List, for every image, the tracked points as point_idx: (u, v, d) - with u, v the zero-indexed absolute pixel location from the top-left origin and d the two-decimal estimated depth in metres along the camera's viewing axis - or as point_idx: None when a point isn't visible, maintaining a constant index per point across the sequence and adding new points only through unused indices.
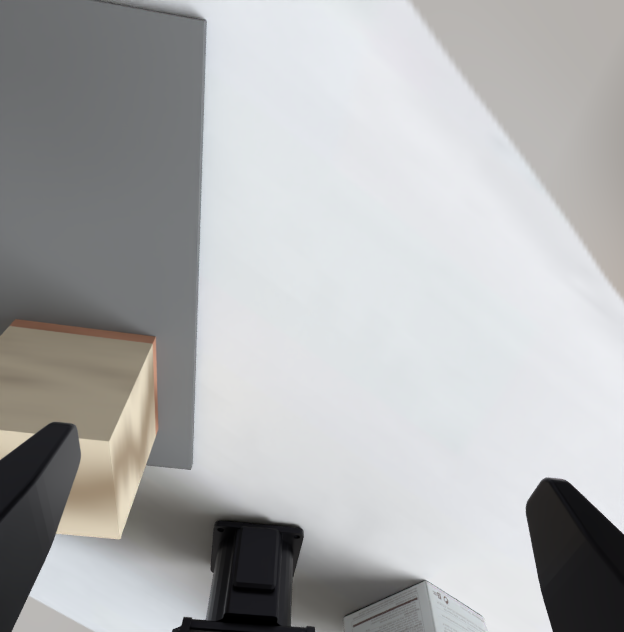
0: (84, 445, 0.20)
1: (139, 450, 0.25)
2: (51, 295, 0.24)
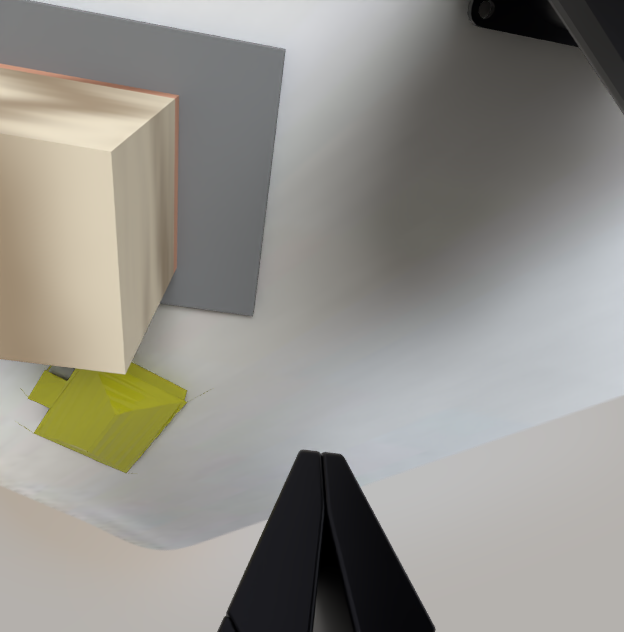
0: None
1: (70, 103, 0.14)
2: None
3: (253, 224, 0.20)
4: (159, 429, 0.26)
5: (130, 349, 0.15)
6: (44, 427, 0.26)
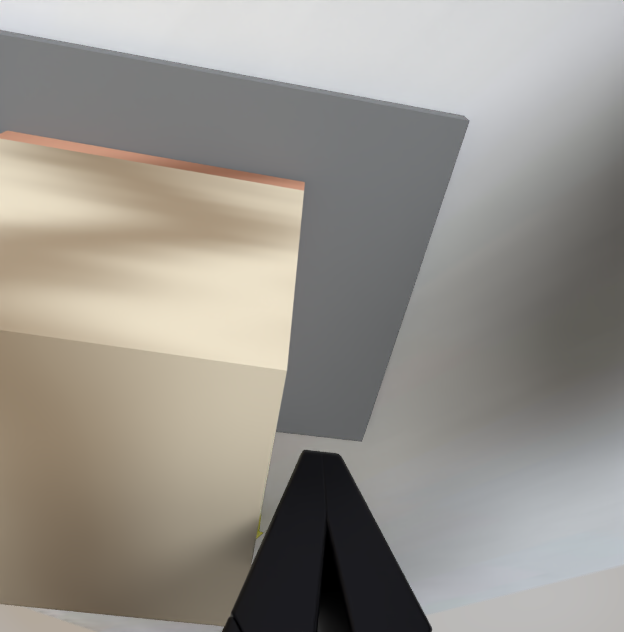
0: None
1: (171, 225, 0.09)
2: None
3: (382, 339, 0.15)
4: None
5: None
6: None
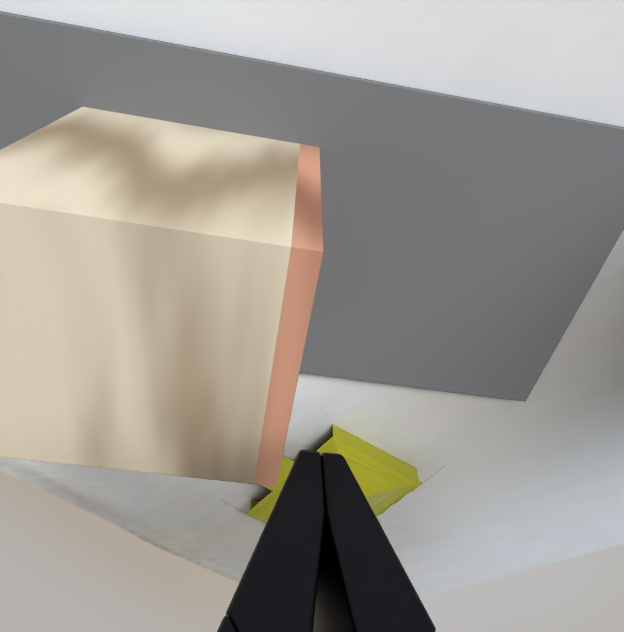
0: None
1: (161, 178, 0.11)
2: None
3: (564, 312, 0.18)
4: (383, 509, 0.25)
5: (21, 445, 0.12)
6: (260, 508, 0.24)
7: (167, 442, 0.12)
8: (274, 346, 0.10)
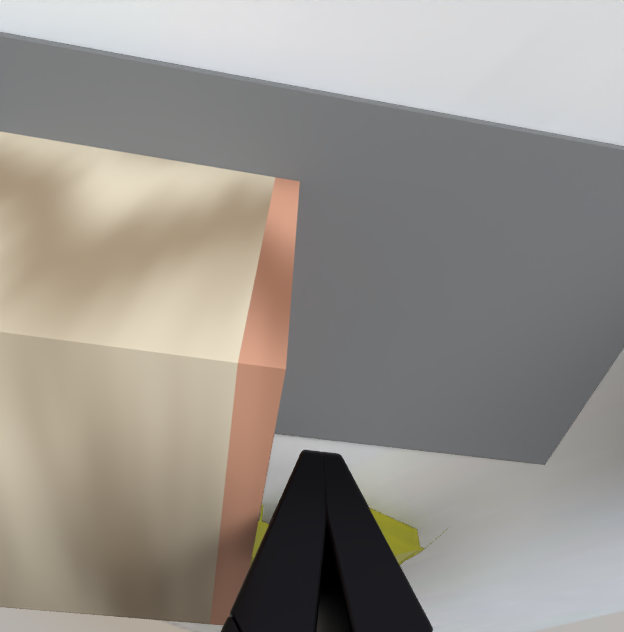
0: None
1: (69, 243, 0.08)
2: None
3: (595, 370, 0.15)
4: None
5: None
6: None
7: (91, 583, 0.09)
8: (223, 481, 0.07)
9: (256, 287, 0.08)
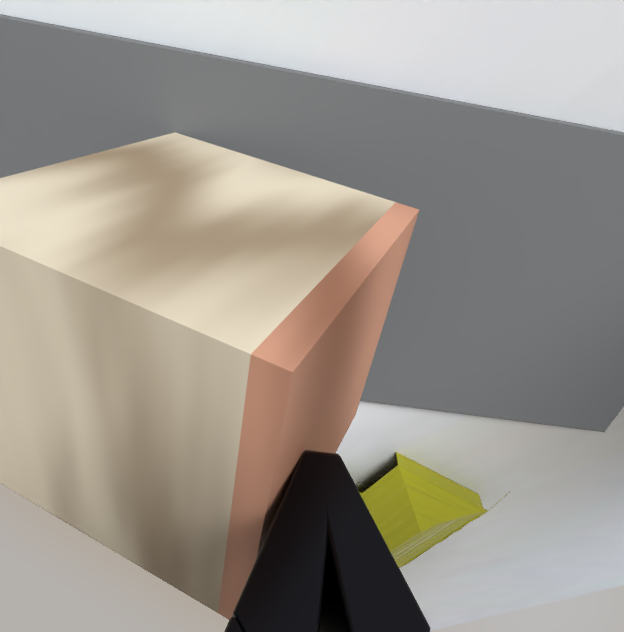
0: None
1: (172, 225, 0.09)
2: None
3: None
4: (444, 536, 0.24)
5: (5, 474, 0.11)
6: None
7: (127, 528, 0.10)
8: (234, 470, 0.08)
9: (311, 294, 0.08)
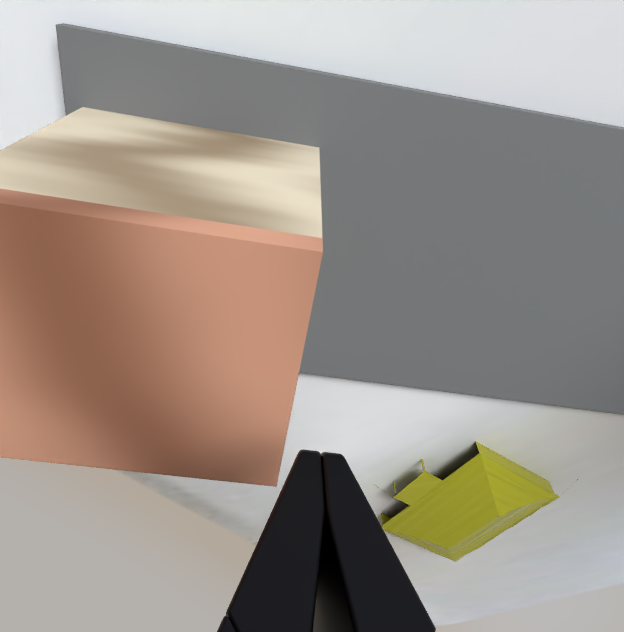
0: None
1: (125, 154, 0.12)
2: (435, 307, 0.18)
3: None
4: (514, 522, 0.25)
5: None
6: (394, 522, 0.25)
7: None
8: None
9: (46, 196, 0.09)
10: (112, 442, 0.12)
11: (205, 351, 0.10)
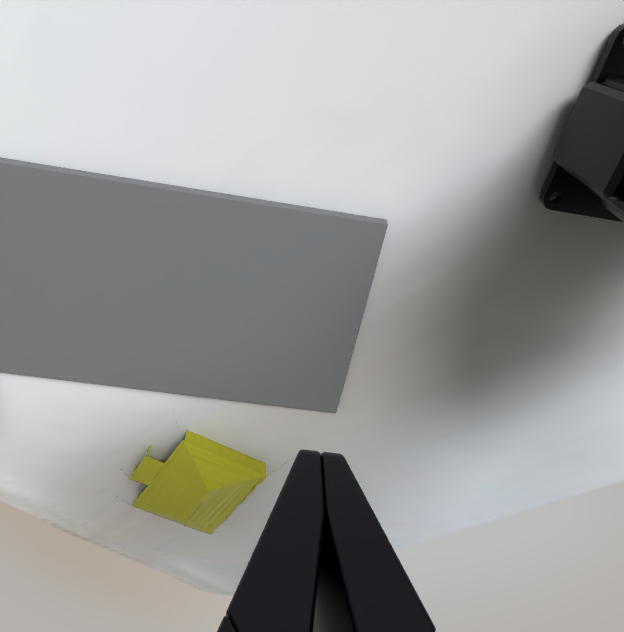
0: None
1: None
2: (95, 321, 0.23)
3: (345, 346, 0.23)
4: (242, 498, 0.30)
5: None
6: (141, 500, 0.30)
7: None
8: None
9: None
10: None
11: None
